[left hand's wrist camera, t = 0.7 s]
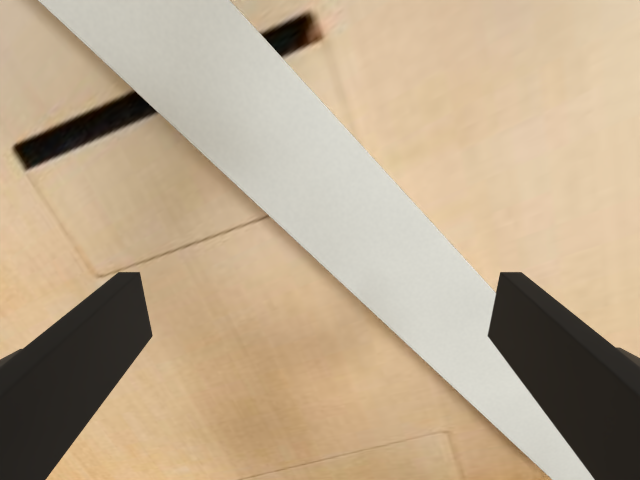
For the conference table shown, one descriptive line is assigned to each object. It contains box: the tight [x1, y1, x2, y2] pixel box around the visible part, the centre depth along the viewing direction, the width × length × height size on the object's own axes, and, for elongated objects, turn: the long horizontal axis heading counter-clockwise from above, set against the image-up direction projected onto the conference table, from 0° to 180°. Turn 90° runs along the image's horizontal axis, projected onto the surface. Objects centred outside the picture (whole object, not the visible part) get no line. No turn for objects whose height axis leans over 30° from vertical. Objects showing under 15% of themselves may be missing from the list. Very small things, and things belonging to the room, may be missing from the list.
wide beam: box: [38, 0, 594, 480], centre depth 35 cm, size 83×9×7 cm, turn 44°
